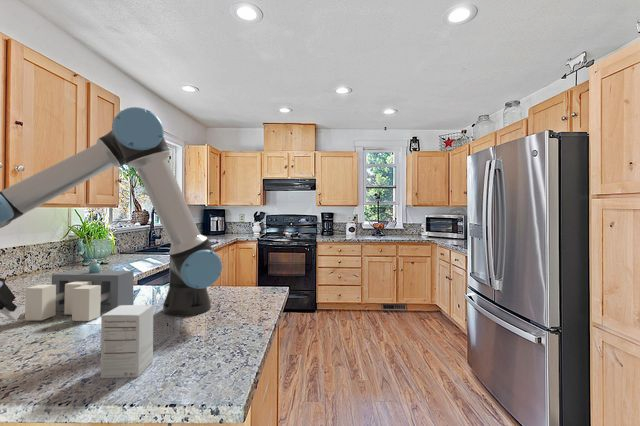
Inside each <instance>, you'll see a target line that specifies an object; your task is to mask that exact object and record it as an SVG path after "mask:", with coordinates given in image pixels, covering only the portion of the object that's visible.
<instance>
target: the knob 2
mask: <svg viewBox="0 0 640 426" xmlns="http://www.w3.org/2000/svg"><path fill="white" fill-rule="evenodd" d="M109 298H110V292H107V293H104V294H101V285H84V286H80V287H77V288H74V289H73V298H72V314H71V321H73V322H75V321H76V322H91V321H92V320H94V319H97V318H99V317H101V311H100V302H102V301H104V300H107V299H109Z"/></svg>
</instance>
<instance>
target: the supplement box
mask: <svg viewBox="0 0 640 426" xmlns="http://www.w3.org/2000/svg"><path fill="white" fill-rule="evenodd" d="M100 317H101V322H100V323H101V324H100V325H101V327H100V329H101V330H100V333H101V334H100V335H101V336H100V378H102V379H120V378H121V379H123V378H122V377H131V378H138V377H140V375H141V374H143V372H144V371H145V370H146V369H147V368H148V367H149V366H150V365H151V364H152V362H153V361H154V305H153V304H132V305H120V306H118V307H116V308H114V309H113V310H111V311H106V313H103V314H102V315H100Z"/></svg>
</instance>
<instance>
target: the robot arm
mask: <svg viewBox="0 0 640 426" xmlns="http://www.w3.org/2000/svg"><path fill="white" fill-rule="evenodd" d="M111 123H112V124H111V130H110V131H108V132H107V133H106V134H105V135H103V136H101V137H98V138H97V140H96V143H95V144H93V145H91V146H89V147H87V148H85V149H83V150H81V151H80V152H79V151H78V152H77V153H75V154H73V155H71V156H69V157H67V158H65V159H62V160H61V161H59V162H57V163H55V164H53V165H51V166H49V167H47V168H45V169H43V170H40V171H39V172H37V173H34V174H33V175H31V176H29V177H27V178H25V179H23V180H21V181H19V182H16V183H14V184H12V185H10V186H8V187H6V188H4V189H3V190H1V191H0V229H2V228H4V227H6V226H8V225H9V224H11V223H12V222H13V221H14V220H17V219H19V218H20V217H22V216H23V215H25V214H27V213H29V212H31V211H32V210H34V209H37V208H38V207H40V206H42V205H44V204H46V203H48V202H49V201H51V200H53V199H55V198H56V197H59V196H61V195H63V194H64V193H67V192H68V191H70V190H72V189H73V188H75V187H78V186H80V185H81V184H83V183H85V182H86V181H88V180H90V179H93V178H94V177H96V176H98V175H100V174H101V173H103V172H105V171H107V170H109V169H111V168H113V167H116V168H121V167H122V166H124V165H127V166H128V167H131V168H134V169H135V170H136V172H137V174H138V177H139V179H140V181H141V183H142V185H143V187H144V190H145V192H146V194H147V196H148V198H149V200H150V202H151V205H152V206H153V209H154V211H155V212H156V215H157V217H158V220H159V221H160V224H161V226H162V228H163V231H164V233H165V234H166V237H167V239H168V241H169V244H170V246H169V252H168V254H169V273H168V274H169V281H168V287H169V288H168V291H167V293H166V296H165V299H164V301H163V302H164V303H163V304H162V313H163V314H164V315H167V316H170V317H171V316H173V317H186V316H187V317H188V316H194V315H199V314H203V313H207V312H208V311H210V310H211V308H212V306H211V305H212V301H211V297H210V295H209V291H208V287H211V286H212V285H214V284H215V283H216V282H217V281H218V279H219V278H220V276H221V274H222V271H223V263H222V260H221V258H220V256H219V255H218V254H217V253H216V252H215V251H214V250H213V247H212V245H211V243H210V240H209V238H208V237H207V236H206V235H203V234H201V233H200V231H199V229H198V226H197V224H196V221H195V220H194V217H193V215H192V212H191V210H190V208H189V205H188V204H187V201H186V199H185V197H184V195H183V191H182V190H181V188H180V186H179V183H178V180H177V179H176V177H175V174H174V171H173V169H172V168H171V164H170V163H169V160H168V158H169V155H170V153H171V151H170V148H169V145H168V144H167V142H166V139H165V135H164V134H165V133H164V132H165V131H164V126H163V123H162V121H161V119H160V118H159V117H158V116H157V115H156V114H155V113H154V112H152V111H150V110H148V109H146V108H144V107H143V108H142V107H136V106H134V107H126V108H124V109H122V110H121V111H119V112H118V113H117V114H116V115H115V117H114V118H113V120H112V122H111ZM15 299H16V296H15V295H14V293H13V291H11V289H10V288H9V287H8V285H7V284H6V279H4V278H3V277H0V313H1V314H3V315H4V316H5V317H7V318H8V319H10V320H11V321H18V319H19V317H20V316H21V314H22V313H23V310H22V309H21V308H20V307H19V306H17V305H16V304H15V303H14V301H15Z"/></svg>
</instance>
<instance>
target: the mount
mask: <svg viewBox="0 0 640 426" xmlns="http://www.w3.org/2000/svg"><path fill="white" fill-rule="evenodd" d="M134 272H135V271H134V270H113V269H112V270H101V269H100V272H99V273H89V269H87V270H86V269H71V270H66V271H61V272H57V273H52V274H51V285H56V294H59V293H63V292H65V299H63V300H60V301H57V302H56V309H55V312H63V314H64V315H72V298H73V289H74V288H77V287H80V286H84V285H101V294H104V293H107V292H110V298H109V299H107V300H104V301H102V302H100V312H109V311H111V310H113V309H114V308H116V307H118V306H120V305H134V281H135V280H134V274H135V273H134Z"/></svg>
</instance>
